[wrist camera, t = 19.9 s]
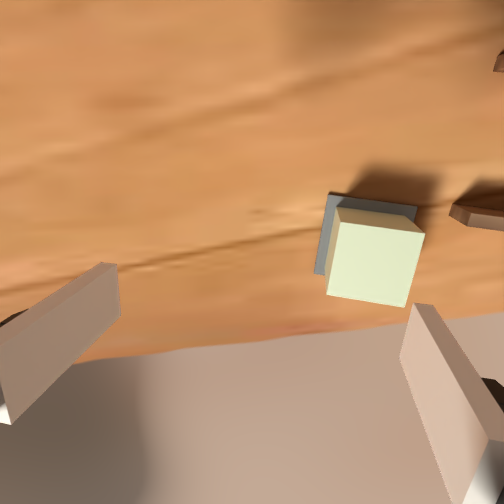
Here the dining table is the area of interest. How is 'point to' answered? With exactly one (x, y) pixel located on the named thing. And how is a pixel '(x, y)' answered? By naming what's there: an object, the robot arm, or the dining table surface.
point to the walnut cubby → (476, 214)
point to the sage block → (372, 256)
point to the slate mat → (353, 203)
